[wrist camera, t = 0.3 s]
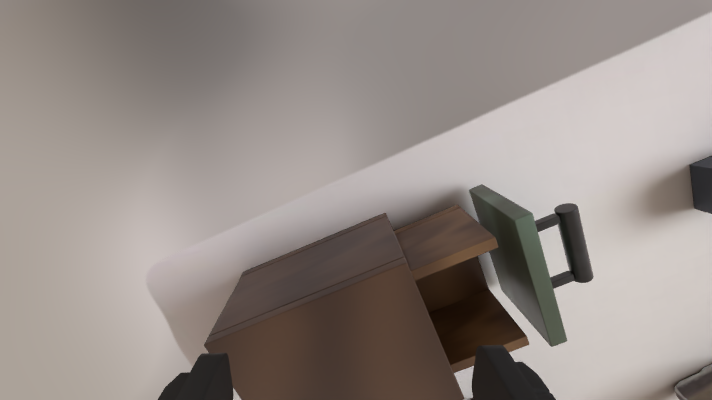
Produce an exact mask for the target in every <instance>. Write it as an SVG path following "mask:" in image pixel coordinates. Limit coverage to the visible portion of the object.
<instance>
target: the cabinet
mask: <svg viewBox="0 0 712 400" xmlns="http://www.w3.org/2000/svg"><path fill="white" fill-rule="evenodd" d="M204 346H205V348H206V349H207V350H208V352H209V353H227V354H228V357H229V363H230V371H231V378H232V385H233V388H234V389H235V391H236V392H237V393H238V395H239V396H240V398H241V399H242V400H463V399H464V396H463V394H462V392H461V389H460V387H459V385H458V382H457V380H456V377H455V375H454V373H453V370H452V368H451V366H450V363H449V361H448V358H447V356H446V354H445V351H444V349H443V347H442V344H441V342H440V339H439V337H438V335H437V332H436V330H435V328H434V325H433V323H432V320H431V318H430V316H429V313H428V311H427V309H426V306H425V304H424V301H423V299H422V297H421V294H420V292H419V289H418V287H417V285H416V282H415V280H414V278H413V275H412V273H411V270H410V268H409V266H408V263H407V261H406V259H405V256H404V254H403V252H402V250H401V247H400V245H399V243H398V240H397V238H396V236H395V233H394V231H393V229H392V226H391V224H390V222H389V220H388V217H387V215H386V213H384V214H381V215H379V216H376V217H374V218H372V219H369V220H367V221H364V222H362V223H360V224H357V225H355V226H353V227H350V228H348V229H345V230H343V231H341V232H338V233H336V234H333V235H331V236H329V237H326V238H324V239H321V240H319V241H317V242H314V243H312V244H309V245H307V246H305V247H302V248H300V249H297V250H295V251H293V252H290V253H288V254H285V255H283V256H281V257H278V258H276V259H273V260H271V261H269V262H266V263H264V264H261V265H259V266H257V267H254V268H252V269H249V270H247V271H245V272H243V274H242V275H241V278H240V279H239V281H238V283H237V285H236V287H235V289H234V290H233V292H232V294H231V296H230V298H229V300H228V301H227V303H226V305H225V307H224V309H223V311H222V312H221V314H220V316H219V318H218V320H217V322H216V323H215V325H214V327H213V329H212V331H211V333H210V334H209V337H208V338H207V340H206V342H205V344H204Z"/></svg>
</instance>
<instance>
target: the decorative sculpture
mask: <svg viewBox="0 0 712 400" xmlns="http://www.w3.org/2000/svg"><path fill="white" fill-rule="evenodd" d="M674 389H675V393H676V395H677V397H678V398H679V399H680V400H712V364H711V365H709V366H707V367H705V368H703V369H702V371H701V372H700V373H698V374H694V375H693V376H691V377H689V378H686V379H685V380H682V381H679V383H678V384H677V385H676V386H675V388H674Z"/></svg>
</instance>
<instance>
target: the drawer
mask: <svg viewBox="0 0 712 400" xmlns="http://www.w3.org/2000/svg"><path fill="white" fill-rule="evenodd" d="M469 192H470V195H471V198H472V201H473V204H474V207H475V210H476V213H477V216H478V219H479V222H480V224H479V223H478V222H477V221H476V220H475V219H473V218H472V217H471V216H470V215H469V214H468V213H467V212H465V211H464V210H463V209H462V208H461V207H459V206H458V205H455V206H453V207H450V208H448V209H446V210H443V211H441V212H438V213H436V214H433V215H431V216H429V217H426V218H424V219H421V220H419V221H416V222H414V223H412V224H409V225H407V226H404V227H402V228H400V229H397V230H395V231H394V233H395V236H396V238H397V240H398V243H399V245H400V247H401V250H402V252H403V254H404V256H405V259H406V261H407V263H408V266H409V268H410V270H411V273H412V275H413V278H414V280H415V282H416V285H417V287H418V289H419V292H420V294H421V297H422V299H423V301H424V304H425V306H426V309H427V311H428V313H429V316H430V318H431V320H432V323H433V325H434V328H435V330H436V332H437V335H438V337H439V339H440V342H441V344H442V347H443V349H444V351H445V354H446V356H447V358H448V361H449V363H450V366H451V368H452V370H453V373H455V372H458V371H461V370H463V369H466V368H468V367H471V366H474V363H475V356H476V349H477V347H478V346H481V345H503V346H504V347H505V348H506V349H507V351H508V352H511V351H513V350H516V349H519V348H521V347H524V346H527V345H529V342H528V339H527V336H526V335H525V333H524V332H523V331H522V330H521V328H520V327H519V326H518V325H517V324H516V322H515V321H514V320H513V319H512V317H511V316H510V315H509V314H508V312H507V311H506V310H505V309H504V307H503V306H502V305H501V304H500V302H499V301H498V300H497V299H496V297H495V296H494V295H493V294H492V293H491V291H490V290H489V288H488V285H487V283H486V280H485V277H484V274H483V271H482V268H481V265H480V262H479V259H478V255H481V254H483V253H486V252H488V251H489V253H490V256H491V259H492V262H493V265H494V268H495V271H496V274H497V277H498V280H499V283H500V286H501V289H502V291H503V292H504V293H505V294H506V295H507V297H508V298H509V299H510V300H511V301H512V302H513V303H514V305H515V306H516V307H517V308H518V309H519V310H520V311H521V313H522V314H523V315H524V316H525V317H526V318H527V319H528V321H529V322H530V323H531V324H532V325H533V326H534V328H535V329H536V330H537V331H538V332H539V333H540V334H541V336H542V337H543V338H544V339H545V340H546V341H547V342H548V344H549V345H550V346H551V347H553V346H556V345H558V344H561V343H564V342H566V341H567V338H566V335H565V331H564V327H563V324H562V320H561V316H560V313H559V309H558V305H557V302H556V298H555V294H554V291H553V289H554V288H556V287H559V286H562V285H564V284H567V283H569V282H572V281H576V282H579V283H586V282H589V281H591V280H592V279H593V272H592V268H591V264H590V259H589V255H588V250H587V246H586V241H585V237H584V232H583V228H582V224H581V219H580V215H579V210H578V206H577V205H575V204H570V203H568V204H562V205H559V206H557V207H556V208H555V210H554V211H555V214H551V215H549V216H546V217H544V218H541V219H539V220H536V221H534V217H533V214H532V213H531V212H529V211H528V210H526V209H524V208H522V207H521V206H519V205H517V204H515V203H514V202H512V201H510V200H509V199H507V198H505V197H503V196H502V195H500V194H498V193H496V192H495V191H493V190H491V189H489V188H488V187H486V186H484V185H479V186H477V187H474V188H472V189H470V190H469ZM557 224H558V227H559V231H560V235H561V239H562V243H563V247H564V251H565V255H566V259H567V263H568V267H569V271H566V272H563V273H561V274H558V275H556V276H553V277H551V278H550V276H549V272H548V268H547V265H546V261H545V257H544V254H543V250H542V246H541V243H540V239H539V235H538V232H539V231H542V230H544V229H547V228H549V227H552V226H554V225H557Z"/></svg>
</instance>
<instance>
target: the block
mask: <svg viewBox="0 0 712 400" xmlns="http://www.w3.org/2000/svg"><path fill="white" fill-rule="evenodd" d="M690 171H691V180H692V189H693V198H694V208H695V209H698V210H701V211H704V212H708V213H711V214H712V156H711V157H708V158H706V159H703V160H701V161H698V162H696V163H693V164H691V165H690Z"/></svg>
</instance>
